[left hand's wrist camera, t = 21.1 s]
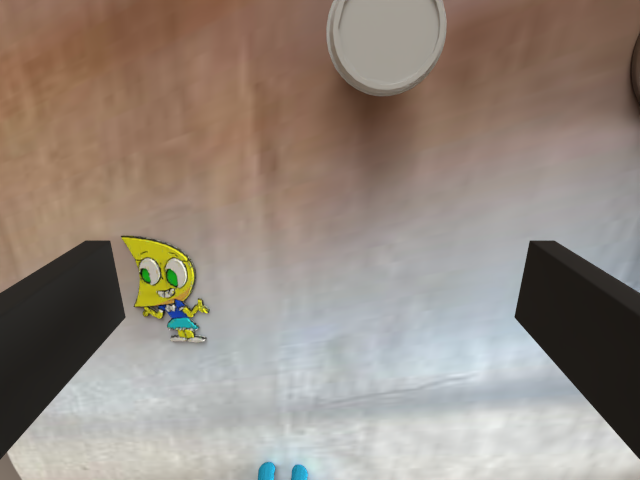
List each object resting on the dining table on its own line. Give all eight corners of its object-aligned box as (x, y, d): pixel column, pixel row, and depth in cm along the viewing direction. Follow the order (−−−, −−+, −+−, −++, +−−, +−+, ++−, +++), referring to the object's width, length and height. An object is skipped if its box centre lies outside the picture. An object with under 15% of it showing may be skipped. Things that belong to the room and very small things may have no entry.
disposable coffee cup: (339, -17, 39) (347, -63, 28) (428, 13, 40) (471, -20, 29) (314, 81, 42) (312, 76, 31) (397, 107, 43) (424, 111, 32)
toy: (135, 342, 53) (117, 238, 47) (138, 338, 53) (121, 235, 48) (210, 343, 53) (201, 239, 47) (212, 339, 53) (203, 237, 48)
